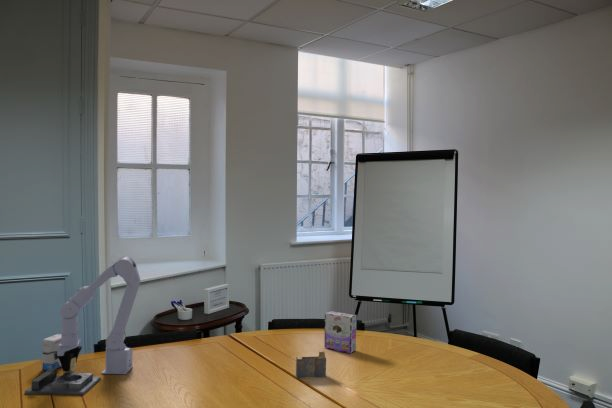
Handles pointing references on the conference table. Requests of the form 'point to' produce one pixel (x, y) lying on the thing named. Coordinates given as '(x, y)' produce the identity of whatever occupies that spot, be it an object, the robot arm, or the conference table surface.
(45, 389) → the jig
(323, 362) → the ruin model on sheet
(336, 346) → the candy box
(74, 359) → the bushing
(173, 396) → the conference table surface
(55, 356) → the ink box
